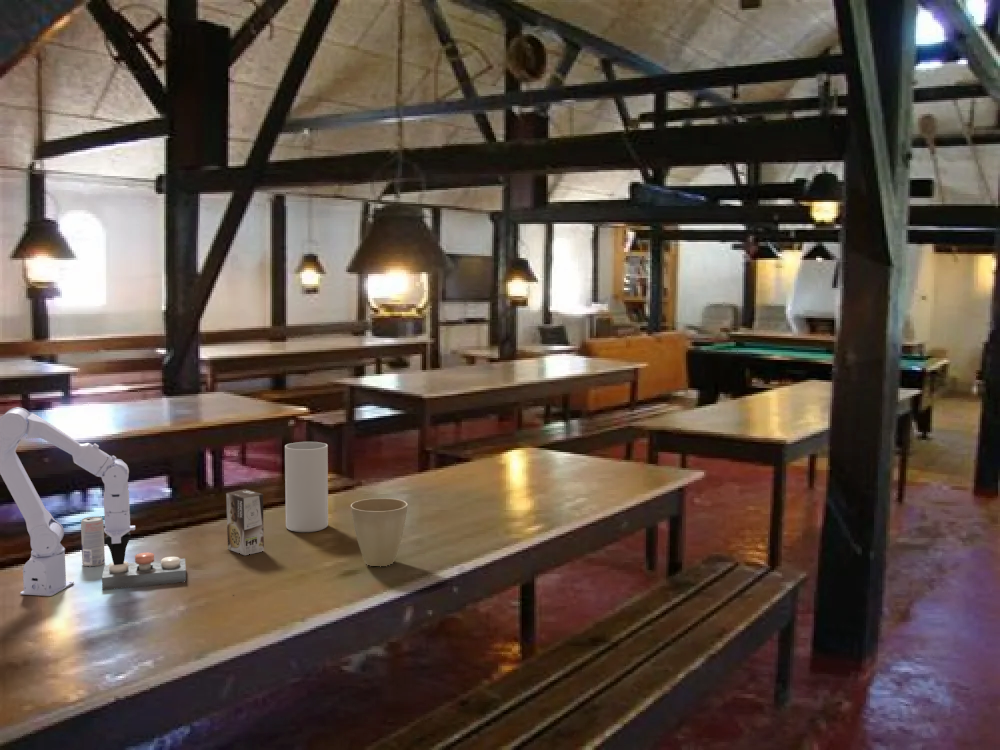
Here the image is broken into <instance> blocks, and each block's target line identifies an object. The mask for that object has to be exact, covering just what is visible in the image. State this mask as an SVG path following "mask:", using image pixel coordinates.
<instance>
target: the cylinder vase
mask: <svg viewBox="0 0 1000 750" xmlns="http://www.w3.org/2000/svg"><path fill="white" fill-rule="evenodd" d="M328 447H329V445H328V444H327V443H325V442H318V441H299V442H293V443H292V442H291V443H287V444H285V445H284V480H285V483H284V485H285V491H284V492H285V493H284V494H285V527H286V529H287V530H289V531H291V532H295V533H315V532H319V531H323V530H324V529H326V528H327V527H328V525H329V473H328V472H329V463H328V462H329V459H328V458H329V457H328V456H329V455H328V454H329V452H328V451H329V450H328V449H329V448H328Z"/></svg>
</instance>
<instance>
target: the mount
mask: <svg viewBox="0 0 1000 750" xmlns="http://www.w3.org/2000/svg"><path fill="white" fill-rule="evenodd" d="M186 568H187V567H186V558H180V566H178V567H175V568H162V567H161V560H154V562H152V563H151V570H139V564H136V563H135V562H130V563H129V562H128V570H127V571H125V572H121V573H111V572H109V564H105V565H104V567H103V572H102V577H101V588H102V589H101V590H103V591H105V590H104V589H107V590H117V589H116V588H118V589H127V588H128V587H129V588H137V587H139V588H140V587H147V586H148V587H149V586H158V585H159V584H161V585H168V584H167V583H171V584H178V583H177V582H182V583H185V582H184V581H186V582H187V573H186V572H187V571H186V570H187V569H186ZM114 588H115V589H114Z"/></svg>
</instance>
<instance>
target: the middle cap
mask: <svg viewBox="0 0 1000 750" xmlns="http://www.w3.org/2000/svg"><path fill="white" fill-rule="evenodd" d="M154 561H155V554H154V553H153V552H140V553H137V554H135V555H134V563H136V564H139V570H151V563H152V562H154Z"/></svg>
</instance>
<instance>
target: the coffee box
mask: <svg viewBox="0 0 1000 750" xmlns="http://www.w3.org/2000/svg"><path fill="white" fill-rule="evenodd" d="M225 495H226V525H227V526H226V528H227V534H226V535H227V550H229V551H231V552H234V553H237V554H239V553H240V555H243V556H250V555H253V554H258V553H262V551H263V552H264V551H265V547H264V546H265V541H264V539H265V538H264V537H265V535H264V533H265V532H264V530H265V529H264V494H263V493H260V492H257V491H253V490H250V489H246V488H244V489H239V490H235V491H231V492H226V493H225ZM249 554H250V555H249Z"/></svg>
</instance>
